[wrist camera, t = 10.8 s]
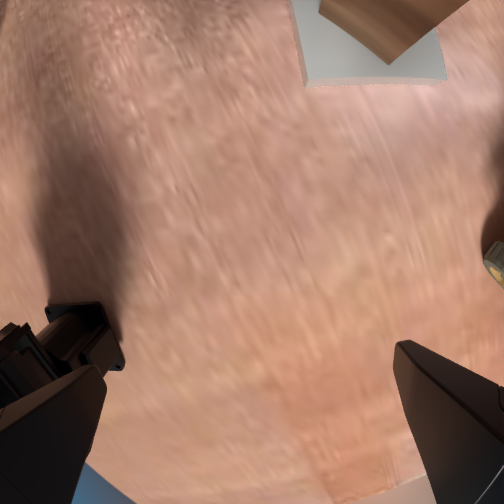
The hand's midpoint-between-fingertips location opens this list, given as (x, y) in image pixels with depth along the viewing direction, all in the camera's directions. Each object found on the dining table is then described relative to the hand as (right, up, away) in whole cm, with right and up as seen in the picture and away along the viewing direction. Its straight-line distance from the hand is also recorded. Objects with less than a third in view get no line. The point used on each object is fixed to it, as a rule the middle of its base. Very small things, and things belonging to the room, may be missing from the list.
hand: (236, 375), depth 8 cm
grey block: (+7, +18, +8) cm, 21 cm away
